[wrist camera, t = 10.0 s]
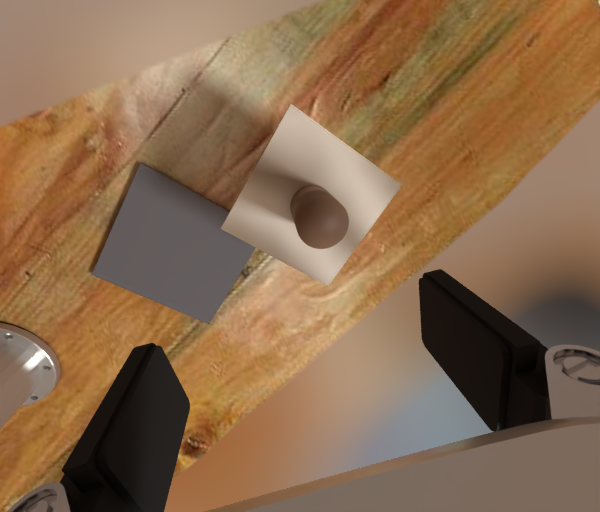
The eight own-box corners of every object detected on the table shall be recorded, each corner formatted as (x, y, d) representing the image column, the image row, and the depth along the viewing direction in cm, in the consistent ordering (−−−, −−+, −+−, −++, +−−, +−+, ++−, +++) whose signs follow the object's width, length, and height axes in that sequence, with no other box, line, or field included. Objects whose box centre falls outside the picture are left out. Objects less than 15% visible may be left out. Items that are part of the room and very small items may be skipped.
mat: (209, 321, 37) (208, 323, 36) (94, 272, 33) (91, 274, 32) (265, 230, 33) (265, 232, 33) (142, 162, 29) (140, 163, 28)
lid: (325, 280, 28) (340, 317, 23) (222, 224, 25) (210, 251, 20) (396, 182, 25) (433, 197, 20) (289, 105, 22) (298, 96, 16)
